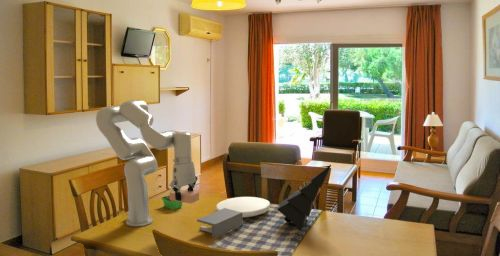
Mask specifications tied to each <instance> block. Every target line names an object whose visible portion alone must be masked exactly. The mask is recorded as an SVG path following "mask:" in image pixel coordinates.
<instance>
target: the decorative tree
mask: <svg viewBox="0 0 500 256" xmlns="http://www.w3.org/2000/svg"><path fill="white" fill-rule="evenodd" d="M331 167H332V164H329V165H327V167H325V168H324V169H323V170H322V171H320V172H319V173H317V174H316V175H314V176H312V177H311V180H310V181H309V182H308V183H306V184H305V185H303V186H302V187H301V189H299V190H295V191H293V192H292V193H290V195H289V196H288V197H287V198H286V199H283V200H282V201H281V202H280V203H279V206H278V208H277V209H276V210H277V211H278V212H279V213H281V214H282V215H283V216H284V218H283V219H284V221H285V223H287V224H291V223H292V224H294V225H295V226H297V228H299V229H301V228H303V229H304V226H305V225H306V222H305V221H307V219H308V218H309V217H310V215H311V212H312V210H313V203H314V201H315V200H316V198H317V195H318V193H319V191H320V189H321V188H322V187H323V185H324V183H325V180H326V178H327V176H328V173H329V171H330V170H331V169H330V168H331ZM304 224H305V225H304Z"/></svg>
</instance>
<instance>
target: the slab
mask: <svg viewBox="0 0 500 256" xmlns="http://www.w3.org/2000/svg"><path fill="white" fill-rule="evenodd" d="M180 192H181V201H179V202H182V203H186V204H193V203H195V202H197V201H200V192H199V191H194V190H193V191H188V189H185V190H184V189H181V190H180ZM168 195H170V200H173V201H178V200H176V199H175V192H174V191H172V192H170V191H169V193H168Z"/></svg>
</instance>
